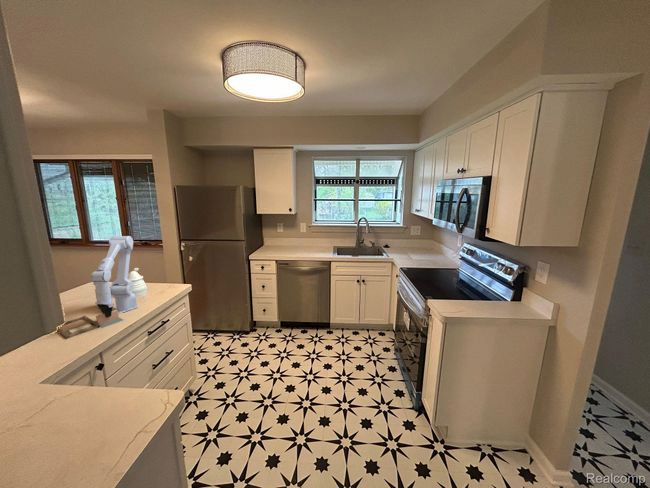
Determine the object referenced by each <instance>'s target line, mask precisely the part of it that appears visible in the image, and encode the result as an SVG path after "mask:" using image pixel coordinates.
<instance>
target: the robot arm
mask: <svg viewBox="0 0 650 488" xmlns="http://www.w3.org/2000/svg"><path fill="white" fill-rule="evenodd" d="M108 245H109V248H108V251H107V254H106V256H105V258H102V259H101V260H100V263H99V265H98V266H97V268H96V270H95V271H93V272H92V273H91V274H90V280H91V282H92V284H93V286H94V287H95V288H94V289H96V293H95V295H96V294H97V300H96V301H95V305H96V306H98V307H99V308H98V307H97V308H98V309H99V310H100V311H101V314H105V317H106V318H107V317H110V316H111V313H112V311H114V310H117V311H118V314H121V313H126V312H128V311H131V310H134V309H138V308H139V307H138V305H137V298H136V296H135V294H134V293H132V292H133V283H132V282H131V281H130V280H128V275H129V273H130V272H129V270H130V261H131V252H132V251H133V247H134V240H133V237H132V236H130V235H125V236H124V235H122V236H121V235H117V236H116V235H112V236H111V237H110V238H109V241H108ZM118 253H119V257H118V267H117V274H116V279H115V280H113V281H112V282H111V285H110V280H111V279H112V269H113V268H114V265H115V261H114V260H115V258H116V256H117V255H118ZM125 284H126V285H125ZM111 295H112V298H111ZM113 298H114V301H115V303H114V302H113ZM114 307H115V309H113V308H114Z"/></svg>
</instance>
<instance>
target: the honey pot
mask: <svg viewBox="0 0 650 488" xmlns="http://www.w3.org/2000/svg"><path fill="white" fill-rule="evenodd" d="M139 269H140V268H139V267H135V268H133V270H132V271H130V272H128V280H130V281H131V282H132V283H133V292H132V293H134V294H135V296H136V299H137V298H141V297H144V296H146V295H147V294H148V287H147V284H146V282H145V280H144V275H140V274H139V273H138V272H139ZM124 285H126V284H124Z"/></svg>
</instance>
